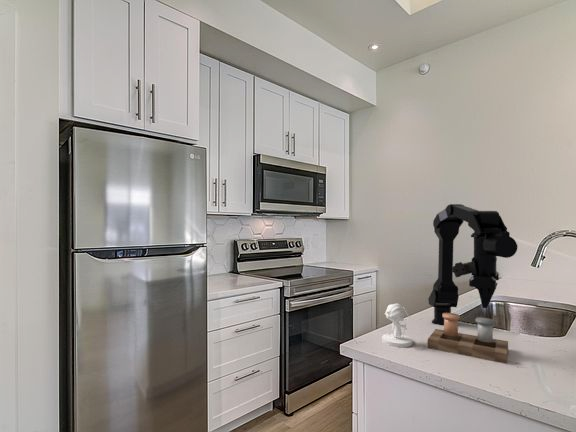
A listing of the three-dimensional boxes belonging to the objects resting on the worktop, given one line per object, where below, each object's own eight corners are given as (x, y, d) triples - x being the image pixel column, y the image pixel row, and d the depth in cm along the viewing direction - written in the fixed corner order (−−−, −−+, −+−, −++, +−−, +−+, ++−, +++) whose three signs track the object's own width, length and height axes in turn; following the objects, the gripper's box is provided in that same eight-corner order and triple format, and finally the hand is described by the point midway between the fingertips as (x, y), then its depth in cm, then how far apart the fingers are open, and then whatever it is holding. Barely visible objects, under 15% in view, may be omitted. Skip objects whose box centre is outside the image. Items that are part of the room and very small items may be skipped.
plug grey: (476, 336, 103) (476, 316, 103) (495, 339, 100) (495, 319, 100) (474, 340, 99) (474, 320, 99) (494, 344, 96) (494, 323, 96)
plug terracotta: (443, 330, 108) (443, 311, 108) (460, 333, 105) (460, 314, 105) (440, 334, 104) (441, 315, 104) (458, 337, 101) (458, 318, 101)
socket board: (435, 336, 112) (435, 328, 112) (508, 349, 101) (508, 341, 101) (427, 347, 103) (427, 339, 103) (506, 363, 91) (506, 354, 91)
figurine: (419, 344, 105) (419, 305, 105) (394, 348, 102) (394, 308, 102) (399, 335, 113) (399, 299, 114) (376, 338, 110) (376, 301, 110)
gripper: (458, 250, 112) (458, 298, 112) (449, 254, 96) (449, 310, 96) (498, 252, 106) (498, 302, 106) (495, 257, 90) (495, 317, 90)
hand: (484, 307), depth 100 cm, fingers closed
